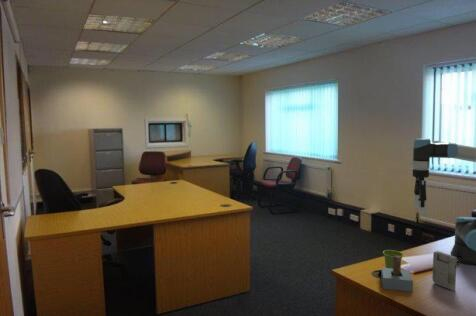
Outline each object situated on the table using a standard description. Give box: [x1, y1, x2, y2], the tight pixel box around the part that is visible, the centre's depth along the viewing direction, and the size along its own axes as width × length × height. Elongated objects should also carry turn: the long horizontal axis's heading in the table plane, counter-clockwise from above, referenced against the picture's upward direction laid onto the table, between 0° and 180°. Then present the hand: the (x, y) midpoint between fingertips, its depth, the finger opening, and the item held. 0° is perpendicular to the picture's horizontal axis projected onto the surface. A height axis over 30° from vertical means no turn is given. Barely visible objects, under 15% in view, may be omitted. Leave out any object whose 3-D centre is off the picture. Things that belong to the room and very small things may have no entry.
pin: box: [393, 256, 402, 276], centre depth 166 cm, size 3×3×12 cm
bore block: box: [380, 267, 414, 293], centre depth 166 cm, size 12×12×5 cm
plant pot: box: [382, 249, 404, 269], centre depth 182 cm, size 9×9×9 cm
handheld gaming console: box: [431, 250, 458, 291], centre depth 163 cm, size 9×4×15 cm, turn 28°
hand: (419, 210), depth 186 cm, fingers open, 13 cm apart
